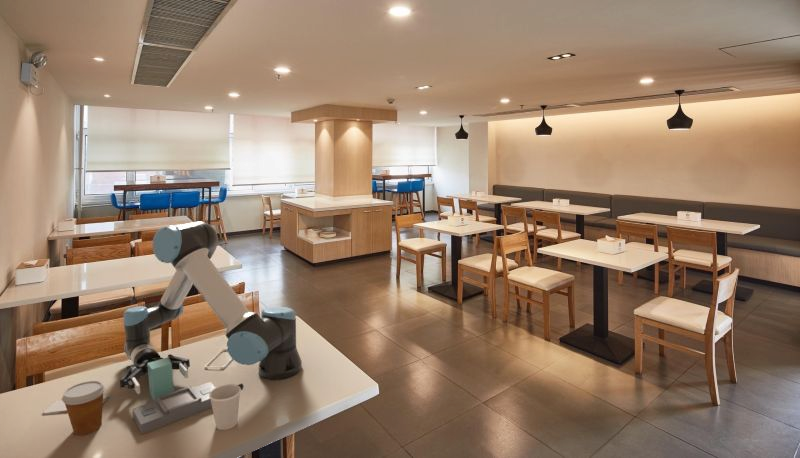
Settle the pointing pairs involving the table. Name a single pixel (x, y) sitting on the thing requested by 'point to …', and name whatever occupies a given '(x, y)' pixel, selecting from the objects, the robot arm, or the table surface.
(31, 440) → the table surface
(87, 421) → the disposable coffee cup
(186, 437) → the table surface
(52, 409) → the smartphone
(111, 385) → the table surface
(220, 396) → the dixie cup
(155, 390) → the teal tall block
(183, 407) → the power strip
